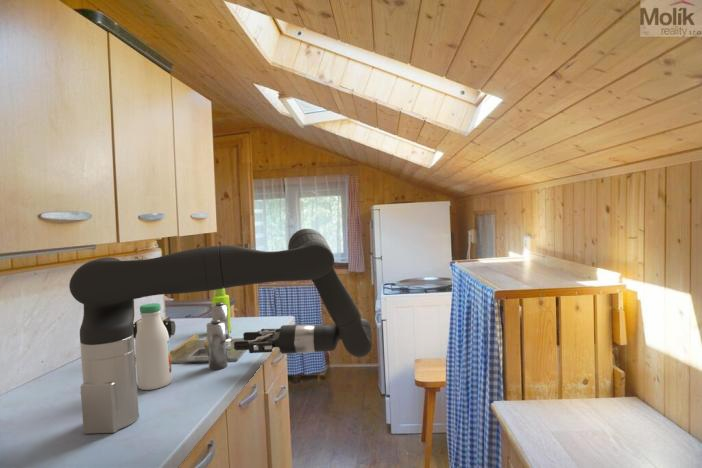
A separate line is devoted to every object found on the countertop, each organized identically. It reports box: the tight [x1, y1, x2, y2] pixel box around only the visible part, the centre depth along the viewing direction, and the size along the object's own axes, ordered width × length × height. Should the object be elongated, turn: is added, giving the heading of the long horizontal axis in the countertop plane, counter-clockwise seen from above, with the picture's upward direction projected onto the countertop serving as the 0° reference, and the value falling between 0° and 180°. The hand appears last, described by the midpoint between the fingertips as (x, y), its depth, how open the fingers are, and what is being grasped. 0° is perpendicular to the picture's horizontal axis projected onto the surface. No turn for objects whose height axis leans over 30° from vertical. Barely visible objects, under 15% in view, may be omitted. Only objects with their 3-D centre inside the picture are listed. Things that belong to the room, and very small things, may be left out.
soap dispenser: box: [211, 288, 232, 334], centre depth 148 cm, size 6×7×20 cm
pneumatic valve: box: [133, 316, 176, 340], centre depth 126 cm, size 6×12×12 cm, turn 97°
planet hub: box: [206, 319, 228, 371], centre depth 113 cm, size 5×5×13 cm
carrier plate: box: [170, 302, 250, 364], centre depth 127 cm, size 21×20×14 cm
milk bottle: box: [134, 302, 173, 391], centre depth 102 cm, size 8×8×20 cm
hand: (239, 340), depth 113 cm, fingers open, 8 cm apart
